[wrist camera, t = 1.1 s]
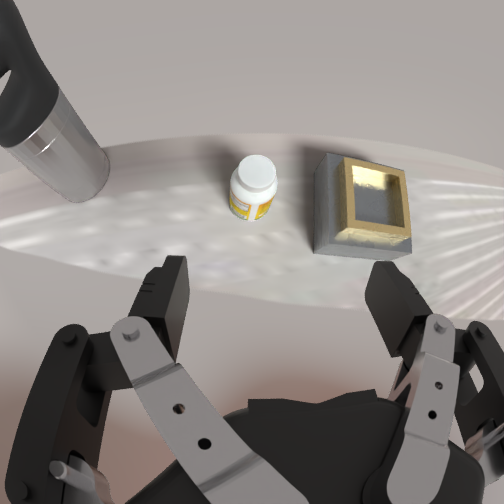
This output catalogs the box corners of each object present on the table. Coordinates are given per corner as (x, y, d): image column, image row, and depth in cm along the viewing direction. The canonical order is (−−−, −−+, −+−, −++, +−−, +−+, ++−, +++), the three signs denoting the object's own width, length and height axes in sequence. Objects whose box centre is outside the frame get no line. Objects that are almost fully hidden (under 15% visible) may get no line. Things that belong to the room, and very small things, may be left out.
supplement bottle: (229, 223, 36) (230, 194, 27) (229, 185, 37) (229, 148, 28) (270, 222, 37) (284, 194, 27) (268, 185, 38) (279, 149, 28)
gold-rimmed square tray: (313, 253, 36) (335, 239, 29) (314, 173, 39) (332, 144, 31) (388, 260, 37) (420, 250, 29) (384, 186, 40) (410, 164, 32)
